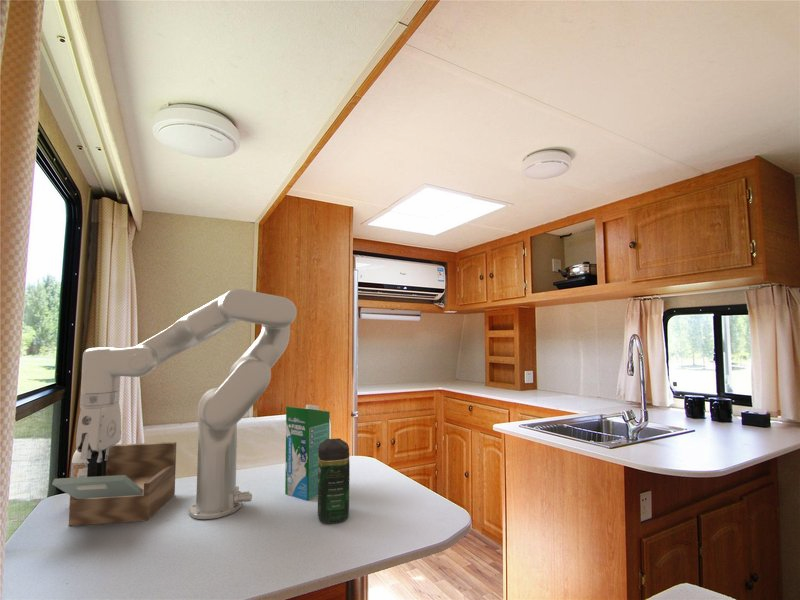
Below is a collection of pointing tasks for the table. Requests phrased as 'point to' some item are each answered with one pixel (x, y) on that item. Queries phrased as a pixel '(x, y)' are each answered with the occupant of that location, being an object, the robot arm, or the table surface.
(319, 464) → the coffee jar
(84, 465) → the bath foam
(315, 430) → the milk carton
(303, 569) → the table surface
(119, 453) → the tray
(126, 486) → the panel
